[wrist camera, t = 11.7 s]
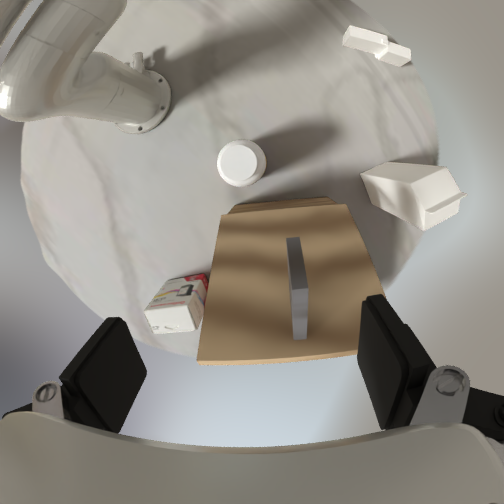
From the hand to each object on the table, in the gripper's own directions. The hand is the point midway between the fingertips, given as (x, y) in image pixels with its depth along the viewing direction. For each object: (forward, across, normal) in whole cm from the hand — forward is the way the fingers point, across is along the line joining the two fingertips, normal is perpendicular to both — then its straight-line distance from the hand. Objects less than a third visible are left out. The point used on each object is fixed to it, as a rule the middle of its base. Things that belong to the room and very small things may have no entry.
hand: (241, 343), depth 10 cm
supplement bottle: (+39, +2, -6) cm, 39 cm away
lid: (+17, -3, +5) cm, 18 cm away
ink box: (+39, +16, +16) cm, 45 cm away
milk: (+38, -21, 0) cm, 44 cm away
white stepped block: (+39, -24, -25) cm, 53 cm away
